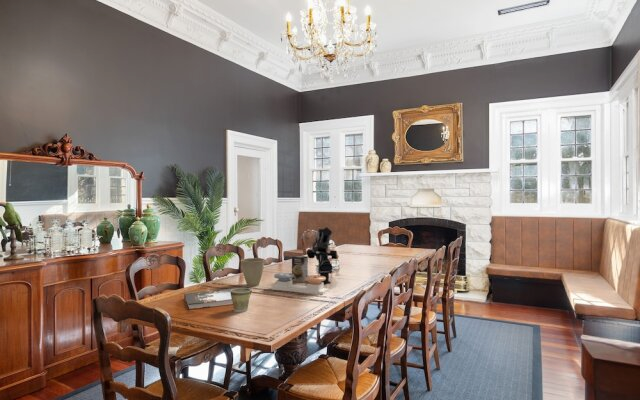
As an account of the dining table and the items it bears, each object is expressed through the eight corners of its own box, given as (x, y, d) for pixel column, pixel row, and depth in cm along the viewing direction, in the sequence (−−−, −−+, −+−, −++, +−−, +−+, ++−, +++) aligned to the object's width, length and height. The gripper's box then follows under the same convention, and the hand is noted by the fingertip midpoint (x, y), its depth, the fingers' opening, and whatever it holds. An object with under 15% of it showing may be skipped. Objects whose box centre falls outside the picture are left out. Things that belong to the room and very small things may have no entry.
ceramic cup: (241, 314, 194) (241, 293, 194) (226, 311, 199) (225, 290, 199) (259, 307, 205) (259, 288, 205) (244, 305, 210) (244, 285, 210)
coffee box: (291, 281, 267) (291, 256, 267) (295, 279, 273) (295, 255, 273) (304, 282, 264) (303, 257, 263) (308, 280, 270) (307, 256, 269)
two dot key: (270, 285, 243) (270, 275, 243) (280, 281, 254) (280, 271, 254) (288, 287, 238) (288, 276, 238) (297, 283, 249) (297, 273, 249)
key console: (270, 289, 245) (270, 280, 245) (278, 286, 253) (278, 278, 253) (322, 294, 231) (322, 285, 231) (328, 291, 240) (328, 282, 239)
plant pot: (267, 282, 264) (267, 257, 263) (261, 287, 249) (261, 261, 249) (244, 282, 265) (244, 257, 265) (237, 287, 250) (237, 261, 250)
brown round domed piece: (301, 289, 235) (301, 278, 235) (310, 284, 246) (310, 274, 246) (320, 290, 230) (320, 279, 230) (328, 286, 241) (328, 275, 241)
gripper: (307, 236, 255) (302, 257, 244) (336, 237, 250) (332, 258, 240) (310, 247, 263) (306, 267, 252) (339, 248, 258) (335, 269, 248)
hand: (319, 265), depth 248 cm, fingers closed
